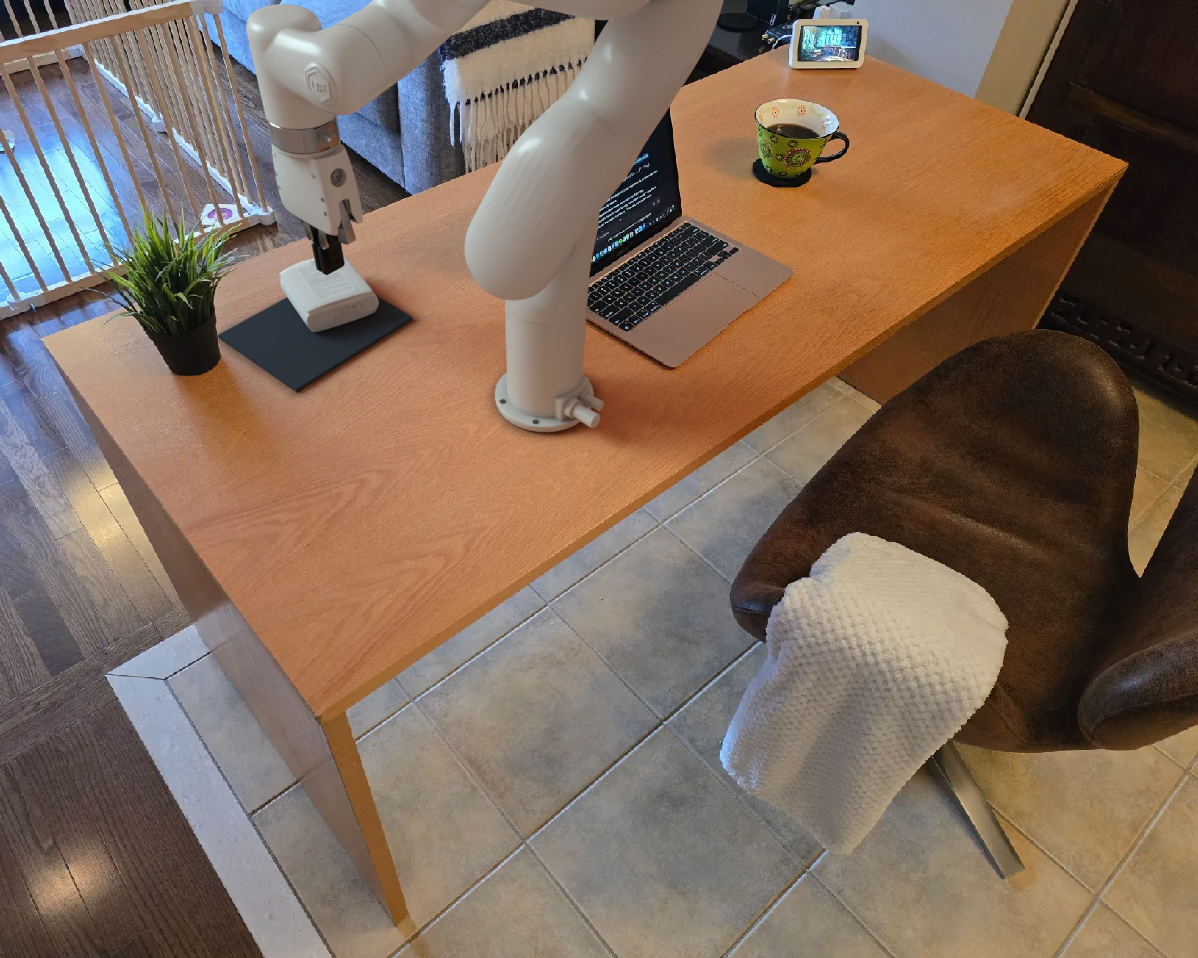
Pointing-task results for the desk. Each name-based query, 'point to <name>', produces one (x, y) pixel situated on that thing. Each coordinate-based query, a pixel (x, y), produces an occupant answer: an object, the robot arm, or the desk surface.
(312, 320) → the photo printer
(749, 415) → the desk surface
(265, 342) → the desk mat
